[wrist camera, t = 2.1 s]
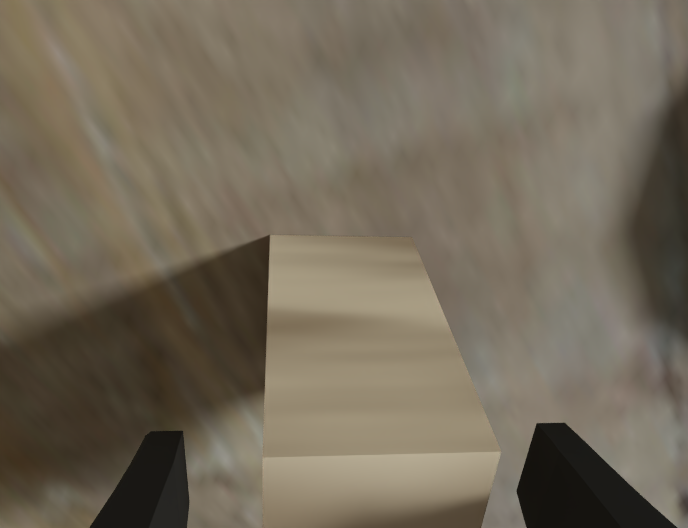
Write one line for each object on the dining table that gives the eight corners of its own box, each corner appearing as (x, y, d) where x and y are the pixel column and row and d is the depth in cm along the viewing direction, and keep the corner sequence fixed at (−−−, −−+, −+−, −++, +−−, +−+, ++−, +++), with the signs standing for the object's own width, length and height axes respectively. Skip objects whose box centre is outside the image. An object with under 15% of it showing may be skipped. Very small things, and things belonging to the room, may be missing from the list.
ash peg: (396, 350, 19) (463, 594, 12) (269, 350, 19) (263, 604, 12) (411, 237, 17) (501, 452, 10) (269, 235, 17) (262, 458, 10)
